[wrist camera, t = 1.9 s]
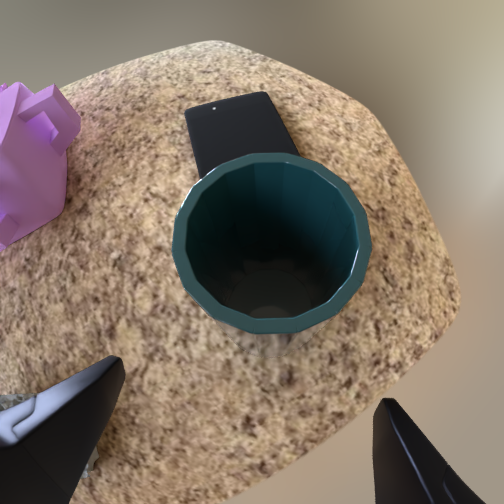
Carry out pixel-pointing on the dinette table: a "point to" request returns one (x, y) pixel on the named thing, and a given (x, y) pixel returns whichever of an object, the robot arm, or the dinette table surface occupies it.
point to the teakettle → (33, 158)
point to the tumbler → (271, 249)
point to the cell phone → (236, 130)
